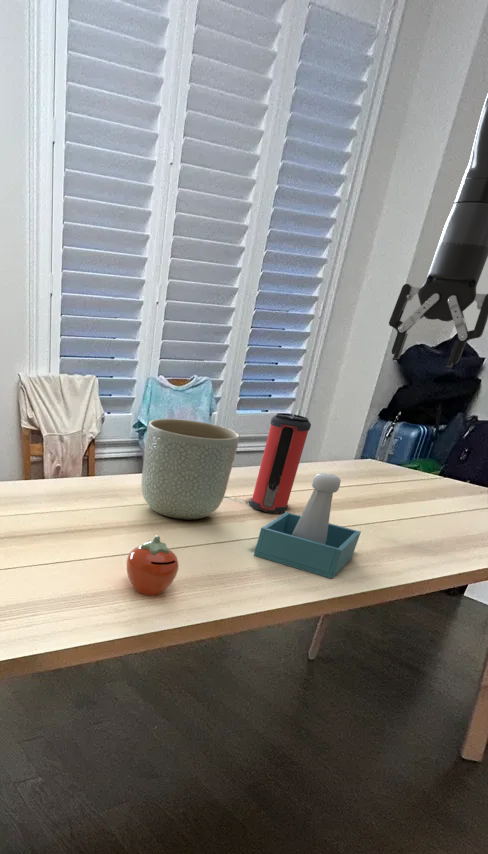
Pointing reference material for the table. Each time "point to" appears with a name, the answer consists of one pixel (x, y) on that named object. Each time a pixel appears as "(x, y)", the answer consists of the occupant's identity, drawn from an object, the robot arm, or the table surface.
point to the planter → (187, 467)
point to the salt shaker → (318, 509)
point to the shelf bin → (306, 546)
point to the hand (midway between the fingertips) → (422, 362)
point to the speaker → (280, 462)
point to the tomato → (152, 567)
